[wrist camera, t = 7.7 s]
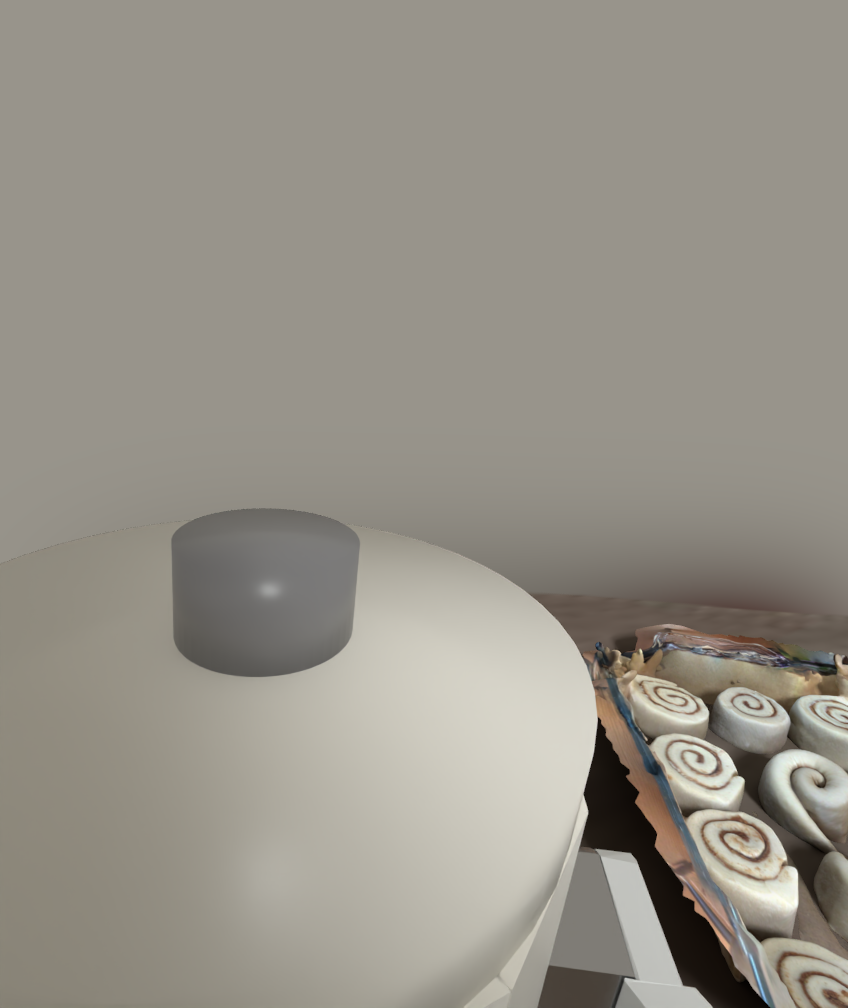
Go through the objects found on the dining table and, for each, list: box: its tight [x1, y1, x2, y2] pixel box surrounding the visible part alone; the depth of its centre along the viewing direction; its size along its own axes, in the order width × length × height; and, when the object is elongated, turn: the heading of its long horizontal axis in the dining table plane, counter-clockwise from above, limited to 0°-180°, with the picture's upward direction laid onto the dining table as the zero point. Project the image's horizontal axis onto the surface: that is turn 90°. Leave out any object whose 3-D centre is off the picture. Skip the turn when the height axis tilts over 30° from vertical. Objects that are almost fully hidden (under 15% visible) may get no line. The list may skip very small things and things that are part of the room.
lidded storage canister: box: [0, 509, 598, 1008], centre depth 7 cm, size 7×7×10 cm
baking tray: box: [582, 624, 848, 1008], centre depth 25 cm, size 30×22×5 cm
